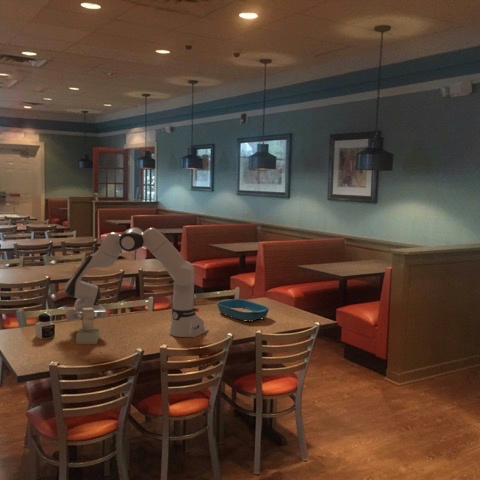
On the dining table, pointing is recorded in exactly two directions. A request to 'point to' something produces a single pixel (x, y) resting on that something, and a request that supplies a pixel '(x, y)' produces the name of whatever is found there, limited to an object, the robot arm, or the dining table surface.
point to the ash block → (88, 318)
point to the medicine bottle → (45, 327)
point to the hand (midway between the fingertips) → (88, 318)
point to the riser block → (87, 336)
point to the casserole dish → (257, 309)
